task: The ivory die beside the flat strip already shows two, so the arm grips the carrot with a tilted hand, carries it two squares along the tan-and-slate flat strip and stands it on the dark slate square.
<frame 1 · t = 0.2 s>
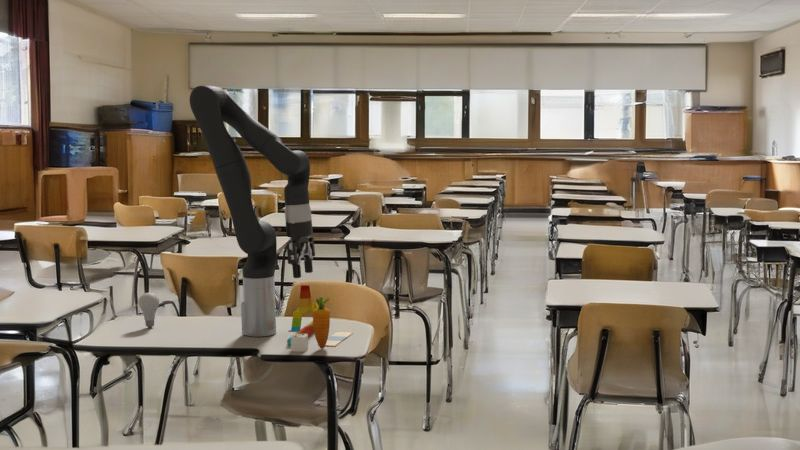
hand: (303, 275, 272), 18 cm above the table, tool pointing down, fingers open, 8 cm apart
carrot: (322, 349, 257), on the table
die: (299, 349, 257), on the table
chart: (308, 334, 278), on the table
lightbulb: (150, 328, 288), on the table
flat strip: (335, 339, 268), on the table
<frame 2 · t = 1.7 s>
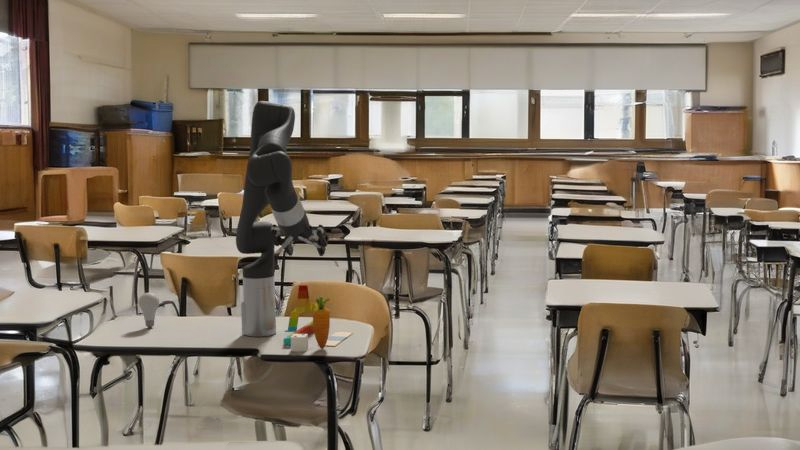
hand: (306, 253, 244), 28 cm above the table, tool tilted 45°, fingers open, 8 cm apart
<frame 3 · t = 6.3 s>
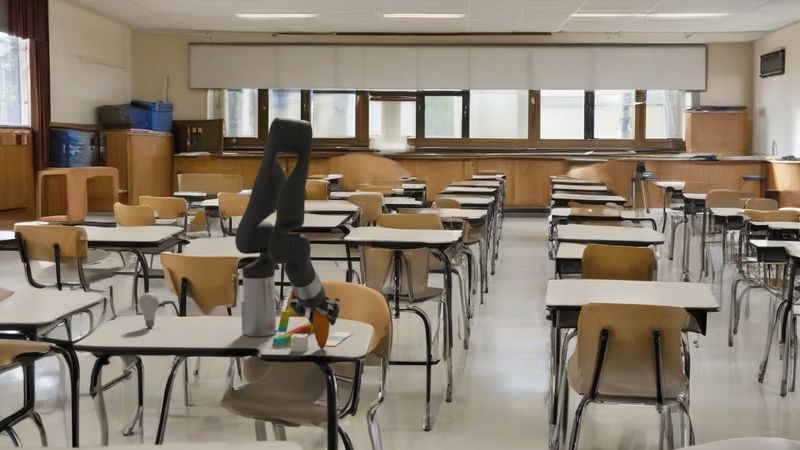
hand: (323, 322, 258), 7 cm above the table, tool tilted 45°, fingers closed on carrot, 5 cm apart
carrot: (322, 349, 257), on the table, touching gripper
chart: (301, 334, 277), on the table
everything else where it was.
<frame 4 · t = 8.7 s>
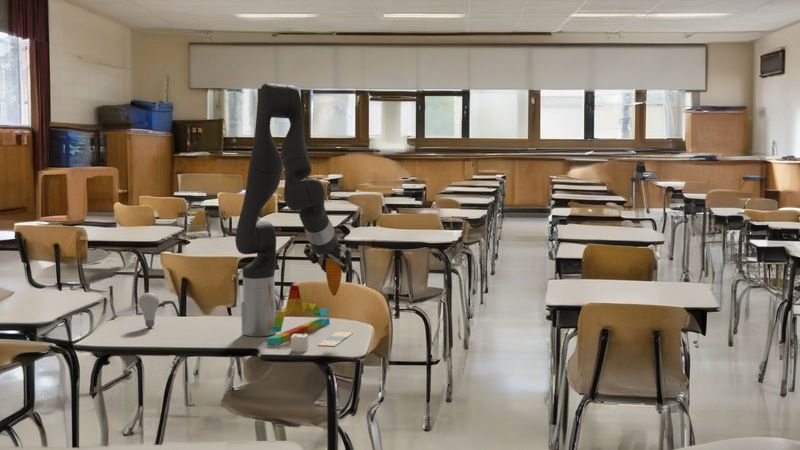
hand: (335, 269, 268), 20 cm above the table, tool tilted 45°, fingers closed on carrot, 5 cm apart
carrot: (334, 296, 267), point 13 cm above the table, touching gripper
when the fingers open (8 cm above the table, at t = 11.3 s): carrot drops 1 cm, resting on flat strip.
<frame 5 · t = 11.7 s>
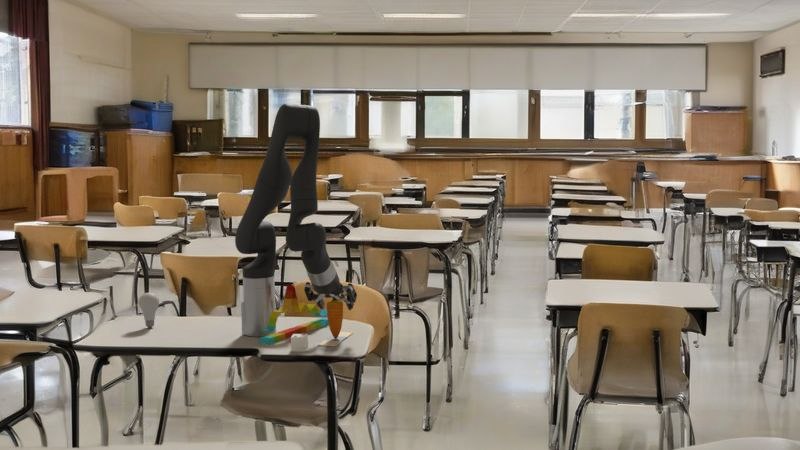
hand: (336, 307, 269), 9 cm above the table, tool tilted 45°, fingers open, 8 cm apart
carrot: (335, 339, 268), resting on flat strip
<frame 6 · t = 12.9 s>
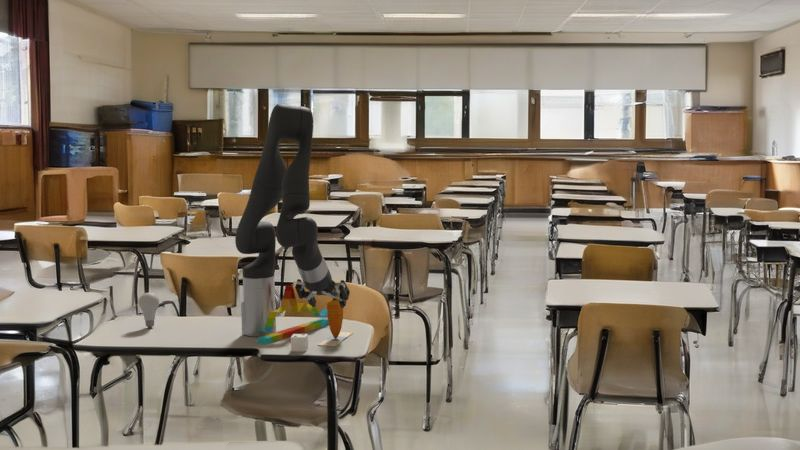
hand: (328, 304, 261), 11 cm above the table, tool tilted 45°, fingers open, 8 cm apart
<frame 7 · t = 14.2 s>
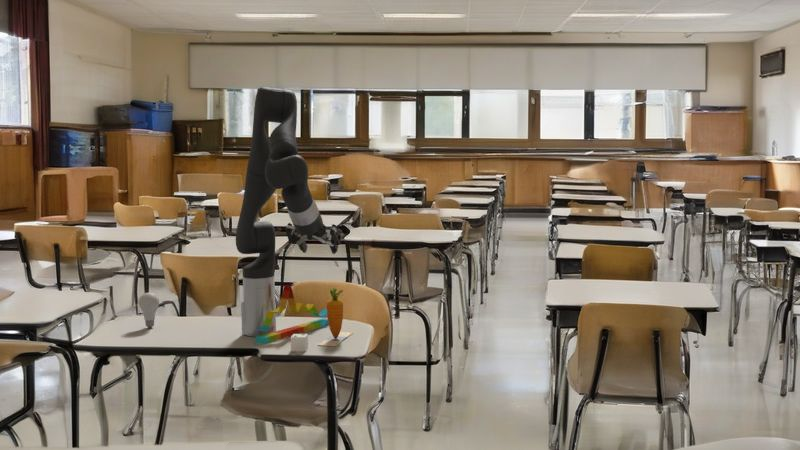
hand: (320, 250, 255), 27 cm above the table, tool tilted 45°, fingers open, 8 cm apart
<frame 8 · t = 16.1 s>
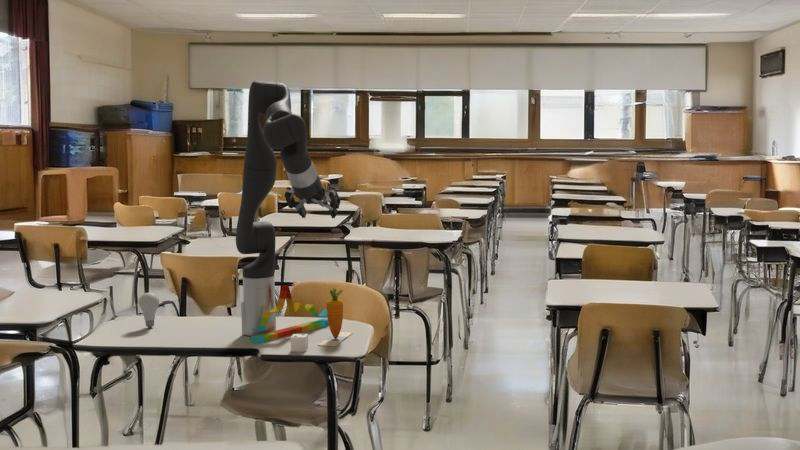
hand: (319, 215, 255), 37 cm above the table, tool tilted 45°, fingers open, 8 cm apart
at the end: carrot inside the target area (0.2 cm from its centre), on the table; carrot tilted 1°; the gripper is holding nothing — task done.
